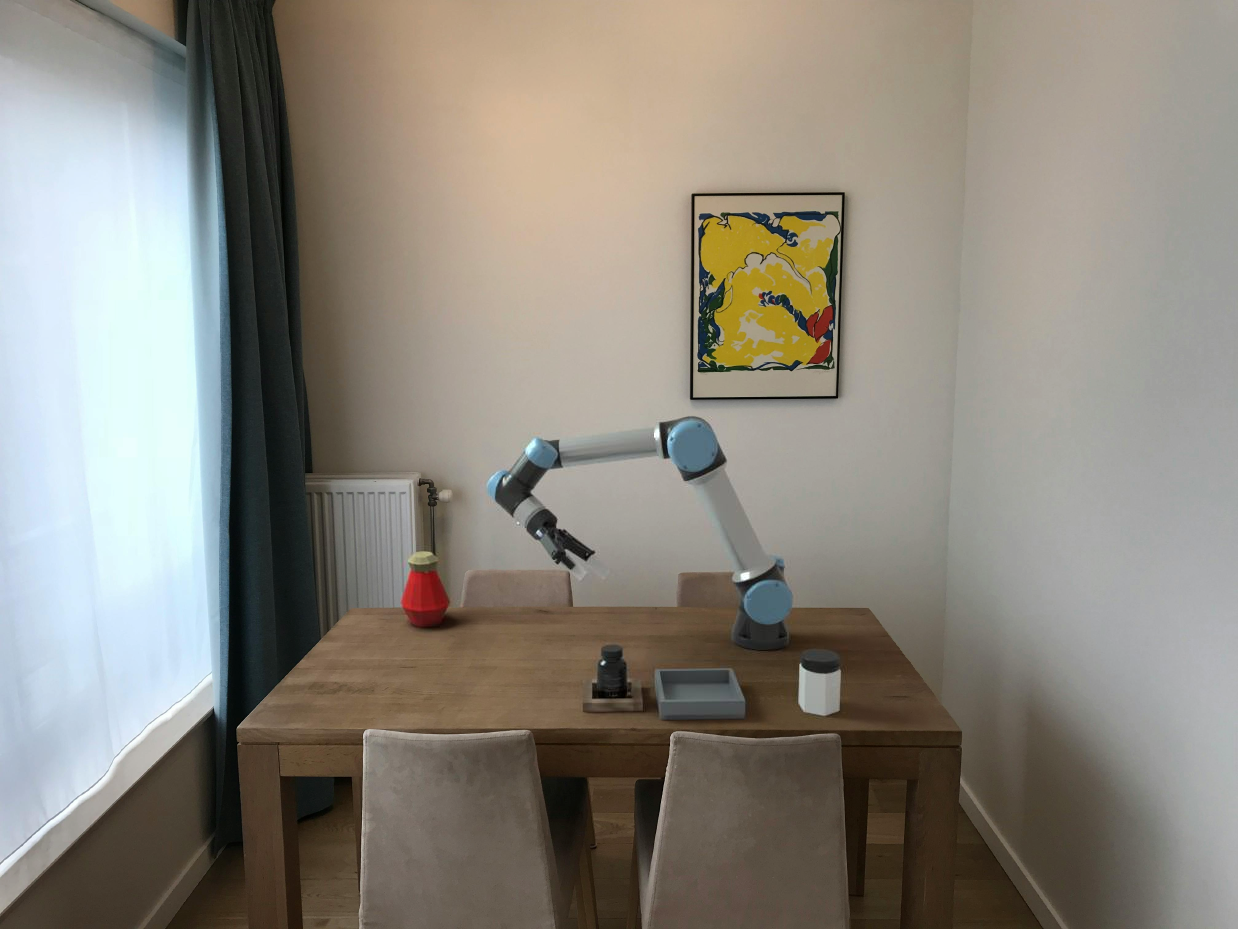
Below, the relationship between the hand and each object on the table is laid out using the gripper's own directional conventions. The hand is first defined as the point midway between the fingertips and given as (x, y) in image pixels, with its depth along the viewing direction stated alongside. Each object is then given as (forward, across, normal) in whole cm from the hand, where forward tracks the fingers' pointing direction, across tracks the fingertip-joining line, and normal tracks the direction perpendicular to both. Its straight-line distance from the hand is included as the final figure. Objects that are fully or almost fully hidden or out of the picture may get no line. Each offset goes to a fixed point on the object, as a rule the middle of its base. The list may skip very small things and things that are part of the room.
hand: (596, 576), depth 204 cm
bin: (+36, 0, -5) cm, 37 cm away
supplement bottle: (+22, +5, -16) cm, 28 cm away
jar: (+56, -7, +11) cm, 58 cm away
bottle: (-38, -22, -51) cm, 67 cm away
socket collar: (+22, +6, -16) cm, 28 cm away
